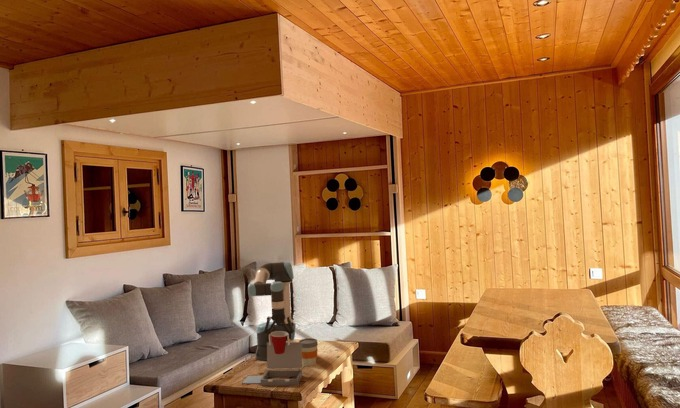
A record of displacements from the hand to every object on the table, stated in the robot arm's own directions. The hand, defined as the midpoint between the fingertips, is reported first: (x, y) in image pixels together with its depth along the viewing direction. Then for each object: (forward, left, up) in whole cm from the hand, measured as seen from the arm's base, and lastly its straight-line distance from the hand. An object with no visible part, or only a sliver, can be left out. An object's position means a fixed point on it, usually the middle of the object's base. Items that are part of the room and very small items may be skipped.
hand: (279, 344), depth 321 cm
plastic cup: (0, 0, -5) cm, 5 cm away
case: (0, +1, -22) cm, 22 cm away
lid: (-8, 0, -10) cm, 13 cm away
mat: (-1, -17, -22) cm, 28 cm away
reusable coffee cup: (-31, +12, -22) cm, 40 cm away
